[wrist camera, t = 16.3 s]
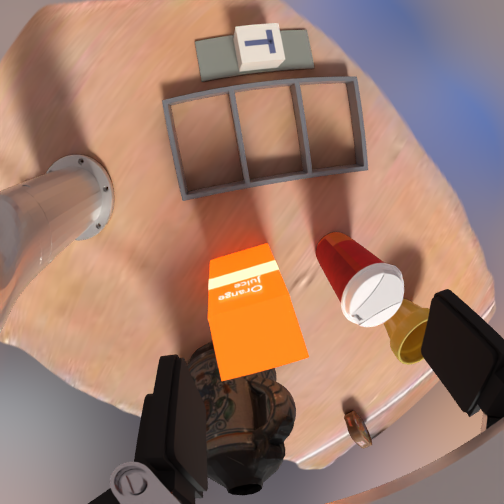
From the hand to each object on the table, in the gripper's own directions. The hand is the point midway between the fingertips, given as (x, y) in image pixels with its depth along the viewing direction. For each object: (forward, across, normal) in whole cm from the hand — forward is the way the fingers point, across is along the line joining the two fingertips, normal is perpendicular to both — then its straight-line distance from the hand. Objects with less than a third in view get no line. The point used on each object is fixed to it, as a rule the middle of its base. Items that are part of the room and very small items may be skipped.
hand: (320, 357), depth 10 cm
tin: (+33, -18, +62) cm, 72 cm away
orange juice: (+32, +2, +13) cm, 35 cm away
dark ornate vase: (+32, +8, +31) cm, 46 cm away
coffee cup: (+32, -12, +12) cm, 37 cm away
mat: (+32, -4, -18) cm, 37 cm away
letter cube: (+32, -4, -18) cm, 37 cm away
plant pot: (+32, -25, +28) cm, 50 cm away
